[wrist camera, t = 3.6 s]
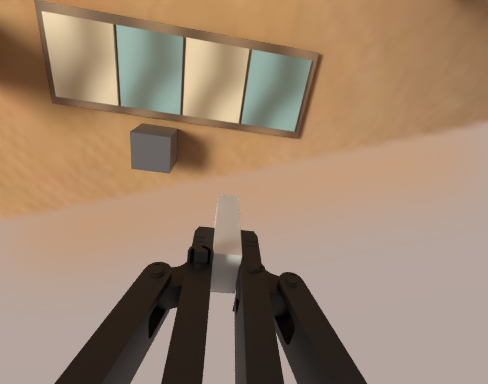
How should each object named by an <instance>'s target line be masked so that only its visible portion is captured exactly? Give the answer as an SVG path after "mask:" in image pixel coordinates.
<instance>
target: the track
mask: <svg viewBox="0 0 488 384" xmlns="http://www.w3.org/2000/svg"><path fill="white" fill-rule="evenodd" d="M34 2H35V8H36V13H37V19H38V25H39V30H40V36H41V41H42V47H43V53H44V58H45V64H46V70H47V75H48V81H49V87H50V92H51V98H52V103H55V104H62V105H69V106H76V107H83V108H90V109H97V110H104V111H111V112H118V113H125V114H131V115H138V116H145V117H152V118H159V119H166V120H173V121H180V122H187V123H194V124H201V125H207V126H214V127H221V128H228V129H235V130H242V131H249V132H256V133H263V134H270V135H277V136H283V137H290V138H298V134H299V130H300V126H301V122H302V118H303V115H304V111H305V107H306V103H307V99H308V95H309V91H310V87H311V83H312V79H313V75H314V71H315V68H316V64H317V60H318V56H319V53H318V52H313V51H307V50H302V49H296V48H291V47H286V46H280V45H275V44H270V43H264V42H259V41H254V40H248V39H243V38H238V37H232V36H227V35H221V34H216V33H211V32H205V31H200V30H195V29H189V28H184V27H179V26H173V25H168V24H163V23H157V22H152V21H147V20H141V19H136V18H130V17H125V16H120V15H114V14H109V13H104V12H98V11H93V10H88V9H82V8H77V7H72V6H66V5H61V4H55V3H50V2H45V1H39V0H34Z"/></svg>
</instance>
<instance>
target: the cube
mask: <svg viewBox="0 0 488 384" xmlns="http://www.w3.org/2000/svg"><path fill="white" fill-rule="evenodd" d="M177 136H178V129H177V128H170V127H163V126H156V125H149V124H141V125H139V126H138V127H136V128H135V129H134V130H132V131H131V132H130V140H131V165H132V169H138V170H146V171H154V172H162V173H170V172H171V170H172V168H173V166H174V164H175V163H176V159H177Z"/></svg>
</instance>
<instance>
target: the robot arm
mask: <svg viewBox="0 0 488 384" xmlns="http://www.w3.org/2000/svg"><path fill="white" fill-rule="evenodd" d="M235 289H236V297H235V302H234V306H233V311H235V384H284V380H283V374H282V368H281V362H280V356H279V350H278V344H277V337H276V333H277V335H278V338H279V340H280V343H281V345H282V347H283V350H284V352H285V355H286V357H287V360H288V362H289V365H290V367H291V369H292V372H293V374H294V377H295V379H296V381H297V384H367V383H366V381H365V379H364V378H363V376H362V375H361V373H360V371H359V370H358V368H357V367H356V365H355V363H354V362H353V360H352V358H351V357H350V355H349V354H348V352H347V351H346V349H345V347H344V346H343V344H342V342H341V341H340V339H339V338H338V336H337V334H336V333H335V331H334V329H333V328H332V326H331V325H330V323H329V321H328V320H327V318H326V317H325V315H324V314H323V312H322V310H321V309H320V307H319V305H318V304H317V302H316V300H315V299H314V297H313V296H312V294H311V292H310V291H309V289H308V288H307V286H306V284H305V283H304V281H303V280H302V279H301V277H300V276H298V275H297V274H294V273H291V272H285V273H282V274H281V275H280V276H277V275H274V274H271V273H269V272H268V271H266V270H265V267H264V266H263V265H262V264H261V257H260V250H259V244H258V238H257V235H256V234H255V233H254V231H244V230H241V229H240V213H239V196H234V195H225V194H218V201H217V209H216V217H215V225H214V228H210V227H198V228H197V230H196V231H195V234H194V238H193V243H192V246H191V247H190V248H189V250H188V258H187V262H186V263H185V264H183V265H181V266H178V267H172V268H171V267H170V266H169V264H166V263H164V262H155V263H152V264H150V265H148V266H147V267H146V268H145V269H144V270H143V272H142V273H141V274H140V275H139V277H138V278H137V279H136V281H135V282H134V283H133V284H132V286H131V287H130V288H129V290H128V291H127V292H126V293H125V295H124V296H123V297H122V299H121V300H120V301H119V302H118V303H117V305H116V306H115V307H114V309H113V310H112V311H111V313H110V314H109V315H108V316H107V317H106V319H105V320H104V321H103V323H102V324H101V325H100V326H99V328H98V329H97V330H96V331H95V333H94V334H93V335H92V337H91V338H90V339H89V340H88V342H87V343H86V344H85V345H84V347H83V348H82V349H81V351H80V352H79V353H78V354H77V356H76V357H75V358H74V359H73V361H72V362H71V363H70V365H69V366H68V367H67V369H66V370H65V371H64V372H63V373H62V375H61V376H60V378H59V379H58V380H57V381H56V382H55V384H130V383H131V381H132V379H133V377H134V375H135V374H136V372H137V370H138V368H139V366H140V364H141V363H142V361H143V359H144V357H145V355H146V353H147V351H148V350H149V348H150V346H151V344H152V342H153V340H154V338H155V337H156V335H157V333H158V331H159V329H160V327H161V325H162V324H163V322H164V320H165V318H166V316H167V314H168V313H169V310H170V309H172V308H176V307H178V308H177V313H176V317H175V322H174V327H173V331H172V336H171V341H170V345H169V350H168V355H167V360H166V364H165V369H164V373H163V378H162V383H161V384H202V378H203V368H204V355H205V345H206V333H207V322H208V321H207V320H208V310H209V299H210V292H221V293H235ZM275 330H276V331H275Z"/></svg>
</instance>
